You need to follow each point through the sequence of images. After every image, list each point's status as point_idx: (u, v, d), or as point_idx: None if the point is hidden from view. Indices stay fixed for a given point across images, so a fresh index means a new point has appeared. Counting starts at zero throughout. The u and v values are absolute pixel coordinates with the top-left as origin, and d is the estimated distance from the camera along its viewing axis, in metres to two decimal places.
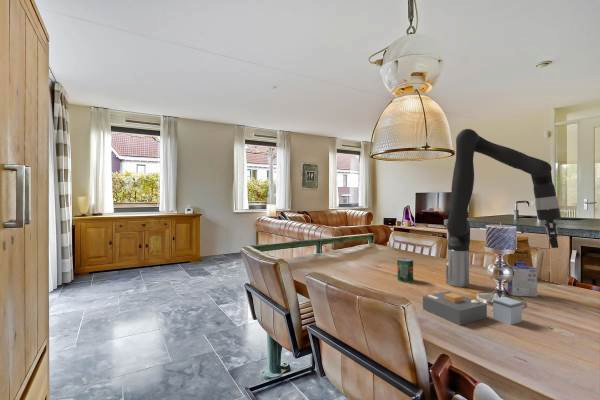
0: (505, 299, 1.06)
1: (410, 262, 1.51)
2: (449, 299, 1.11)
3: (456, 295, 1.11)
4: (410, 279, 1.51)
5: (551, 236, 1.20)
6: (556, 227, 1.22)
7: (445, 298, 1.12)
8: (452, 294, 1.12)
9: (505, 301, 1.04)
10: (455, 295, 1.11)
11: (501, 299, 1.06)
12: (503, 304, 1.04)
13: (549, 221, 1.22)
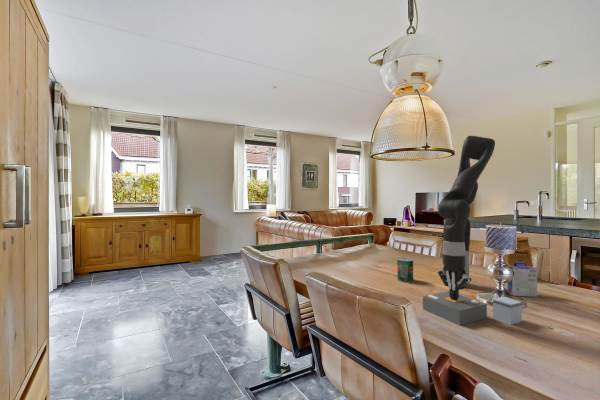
0: (505, 299, 1.06)
1: (410, 262, 1.51)
2: None
3: None
4: (410, 279, 1.51)
5: None
6: (446, 276, 1.12)
7: None
8: None
9: (505, 301, 1.04)
10: None
11: (501, 299, 1.06)
12: (502, 304, 1.04)
13: None
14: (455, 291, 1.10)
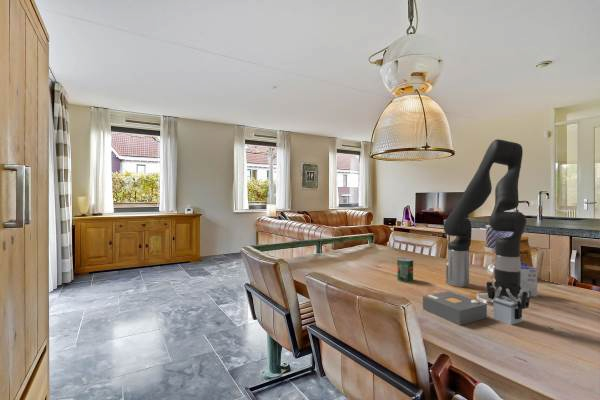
0: (505, 299, 1.06)
1: (410, 262, 1.51)
2: None
3: (456, 300, 1.11)
4: (410, 279, 1.51)
5: None
6: (497, 290, 1.07)
7: None
8: (452, 299, 1.12)
9: (505, 301, 1.04)
10: (455, 300, 1.11)
11: (501, 299, 1.06)
12: (503, 304, 1.04)
13: None
14: (518, 310, 1.01)
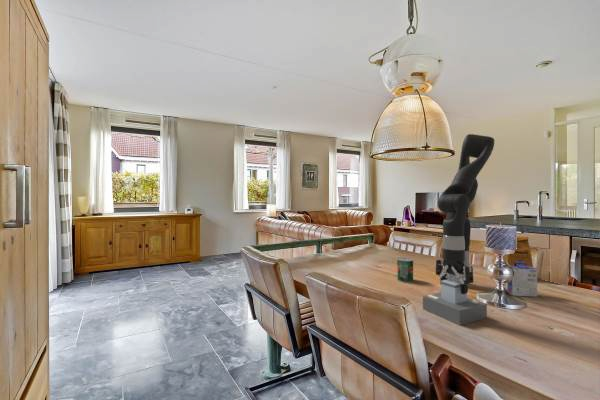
0: (452, 280, 1.12)
1: (410, 262, 1.51)
2: None
3: None
4: (410, 279, 1.51)
5: None
6: (444, 268, 1.13)
7: None
8: None
9: (451, 282, 1.10)
10: None
11: (448, 281, 1.12)
12: (448, 284, 1.10)
13: None
14: (464, 285, 1.06)
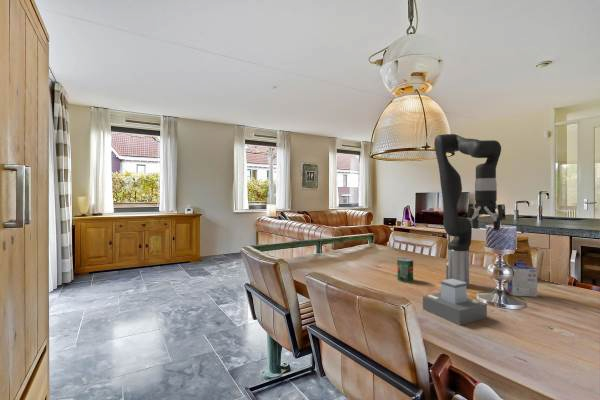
0: (452, 280, 1.12)
1: (410, 262, 1.51)
2: None
3: None
4: (410, 279, 1.51)
5: None
6: None
7: None
8: None
9: (451, 282, 1.10)
10: None
11: (448, 281, 1.12)
12: (448, 284, 1.10)
13: None
14: (497, 222, 1.16)
